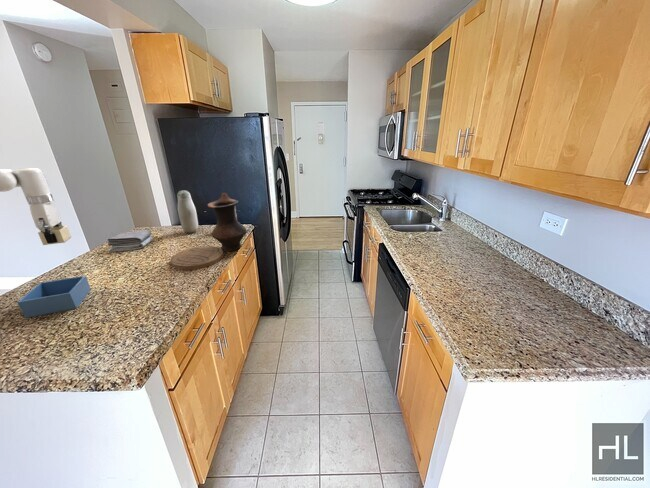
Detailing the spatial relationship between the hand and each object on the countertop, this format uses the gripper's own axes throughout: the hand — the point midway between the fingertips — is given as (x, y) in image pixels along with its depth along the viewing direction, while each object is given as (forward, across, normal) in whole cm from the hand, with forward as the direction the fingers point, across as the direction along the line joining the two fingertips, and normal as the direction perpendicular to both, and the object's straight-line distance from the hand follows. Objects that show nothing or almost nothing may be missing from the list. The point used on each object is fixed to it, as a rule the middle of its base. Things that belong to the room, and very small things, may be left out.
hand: (57, 239), depth 113 cm
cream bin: (+1, 0, 0) cm, 1 cm away
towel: (+18, -30, +18) cm, 39 cm away
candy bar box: (+17, -36, +73) cm, 83 cm away
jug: (+17, -3, +71) cm, 73 cm away
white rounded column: (+18, -43, +49) cm, 67 cm away
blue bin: (+18, +27, +6) cm, 32 cm away
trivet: (+18, +5, +54) cm, 57 cm away
